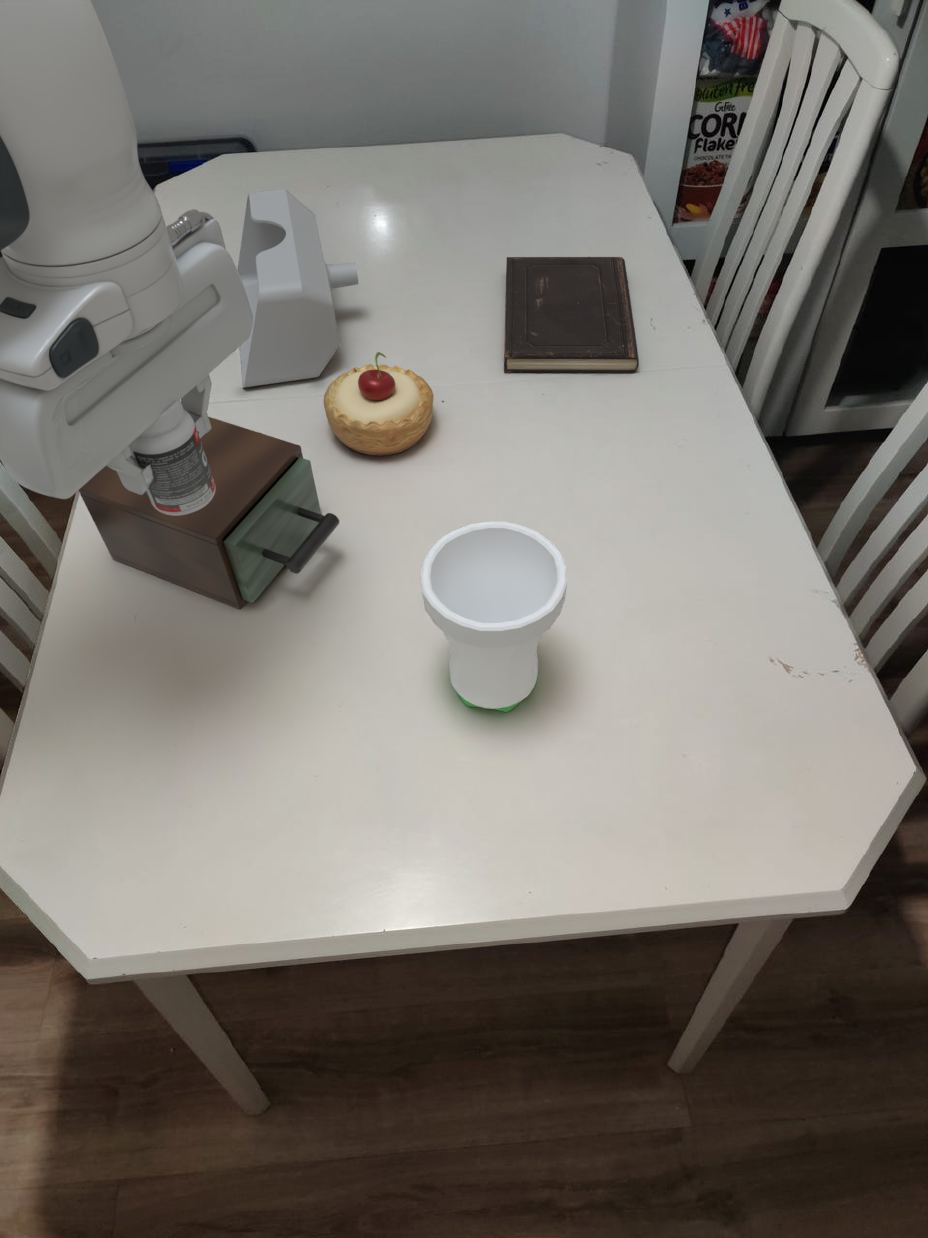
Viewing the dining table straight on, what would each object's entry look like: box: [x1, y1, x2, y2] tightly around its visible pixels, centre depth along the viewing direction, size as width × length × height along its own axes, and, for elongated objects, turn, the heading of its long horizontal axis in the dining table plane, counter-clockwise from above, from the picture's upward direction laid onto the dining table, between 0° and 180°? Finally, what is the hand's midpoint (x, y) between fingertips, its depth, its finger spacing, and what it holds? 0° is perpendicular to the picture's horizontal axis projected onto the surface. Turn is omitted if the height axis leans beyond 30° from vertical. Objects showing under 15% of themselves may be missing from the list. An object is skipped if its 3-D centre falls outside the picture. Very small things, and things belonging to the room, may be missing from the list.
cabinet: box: [78, 416, 304, 610], centre depth 85 cm, size 16×14×10 cm
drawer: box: [222, 457, 340, 604], centre depth 84 cm, size 19×12×8 cm, turn 64°
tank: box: [237, 188, 359, 389], centre depth 107 cm, size 25×16×12 cm, turn 12°
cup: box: [419, 521, 568, 713], centre depth 71 cm, size 11×11×14 cm
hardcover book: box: [503, 256, 640, 374], centre depth 111 cm, size 16×23×2 cm
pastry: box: [323, 351, 434, 456], centre depth 95 cm, size 12×12×9 cm
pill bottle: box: [129, 399, 216, 516], centre depth 60 cm, size 5×5×8 cm
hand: (169, 459), depth 61 cm, fingers closed on pill bottle, 5 cm apart
